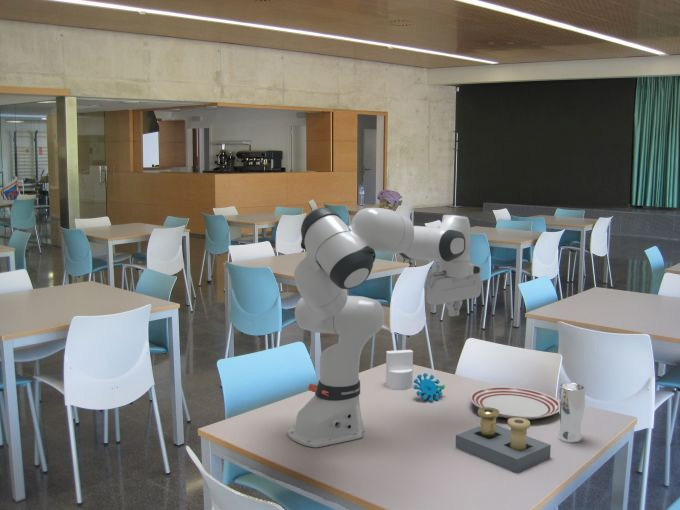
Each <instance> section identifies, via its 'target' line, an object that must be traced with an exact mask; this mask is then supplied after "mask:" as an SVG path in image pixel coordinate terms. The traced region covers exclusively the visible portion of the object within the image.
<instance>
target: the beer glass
mask: <svg viewBox="0 0 680 510" xmlns="http://www.w3.org/2000/svg"><path fill="white" fill-rule="evenodd" d="M585 389H586V387H585V386H584V385H583V384H580V383H576V382H564V383H563V382H562V383H560V384H559V391H558V398H557V400H558V407H559V412H558V413H559V422H560V425H559V426H560V427H559V431H558V432H559V433H558V434H557V435H558V439H559V440H560V441H562V442H566V443H570V444H571V443H572V444H576V443H580V442H581V441H582V433H581V431H582V430H581V424H582V420H583V417H584V412H585V406H586V405H585V404H586V390H585Z"/></svg>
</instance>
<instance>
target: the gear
mask: <svg viewBox="0 0 680 510" xmlns="http://www.w3.org/2000/svg"><path fill="white" fill-rule="evenodd" d="M428 375H429V374H428V373H426V372H425V373H423V375H422V374H418V375H417V376H416V377H417V378H415V379H414V381H413V383H414V385H413V390H416V396H417V397H420V396H422V397H421V399H422V400H423V401H426V400H427V398H428V397H429V398H428V402H429V403H432V402H433V401H439V400H440V397H442V395H443V392H442V391H443V390H444V389H445V388H446V385H445V384H442V385H440V382H441V381H440V379H436V380H434V379H435V376H434V375H433V374H430V376H429V378H428ZM422 377H423V378H422ZM417 390H418V391H417ZM433 396H434V398H433Z"/></svg>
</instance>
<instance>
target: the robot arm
mask: <svg viewBox="0 0 680 510" xmlns="http://www.w3.org/2000/svg"><path fill="white" fill-rule="evenodd" d="M471 234H472V233H471V223H470V220H469V217H467V215H464V214H457V213H456V214H455V213H445V214H443V215H442V219H441V223H440V224H439V225H437V226H436V227H434V226H422V225H417V224H416V225H415V224H414V223H413V222H412V220H411V219H410V218H409V217H408V216H406V215H405V214H403V213H401V212H400V211H395V210H392V209H389V208H383V207H365V208H362V209H360V210H358V211H357V212H356V213H355V214H354V215H353V217H352V220H351V223H350V225H347V224H346V223H345V222H344V221H343V220H342V218H341V216H340V215H339V214H338V213H337V212H336V211H334V210H333V209H332V208H329V207H320V208H317V209H314V210H312V211H311V212H309V213H308V214H306V216H305V217H304V219H303V220H302V224H301V227H300V235H301V242H300V248H301V249H302V250H304V251H305V252H306V256H305V257H304V258H303V259H302V260H301V261H299V263H297V264H296V267H295V268H294V272H293V277H294V282H295V283H294V284H295V286H296V288H297V291H298V293H299V295H300V298H299V300H298V301H297V303H296V305H295V307H294V318H295V321H296V324H297V325H298V326H299V328H300V329H302V330H306V331H309V332H312V333H317V334H331V335H339V341H338V342H337V343H335V344H332V345H330V346H328V347H327V348H324V350H323V351H322V352H321V354H320V357H319V380H318V382H317V385H315V384H313V383H310V384H308V386H307V388H308V389H307V390H308V391H310V392H312V393H314V396H312V398H310V400H308V402H307V403H305V405H304V406H303V407H302V408H301V409H300V410H299V411H298V412H297V414H296V418H295V426H293V427H290V428H289V429H287V431H286V433H287V436H288V437H289V439H291V440H292V441H294V442H296V443H298V444H300V445H303V446H306V447H309V448H310V447H311V448H320V447H326V446H331V445H335V444H339V443H344V442H348V441H352V440H353V441H354V440H358V439H361V438H363V437H364V436H363V433H364V431H365V425H364V422H363V418H362V411H361V405H360V403H361V402H360V394H361V380H360V379H359V378H360V377H359V376H360V375H359V374H360V361H361V355H362V351H363V348H364V346H365V345H366V344H367V342H368V341H369V340H370V339H371V338H372V337H373V336H375V335H377V334H378V333H379V332H380V331H381V329H382V328H383V326H384V323H385V317H386V316H385V310H384V309H385V308H384V307H383V305H382V304H381V302H380V301H379V300H377V299H374V298H370V297H367V296H361V295H360V296H359V295H349V293H348V290H351V289H355V288H357V287H358V286H360V285H362V284H363V283H364V282H366V280H367V279H368V278H369V276H370V275H371V272H372V270H373V267H374V262H375V261H376V257H377V255H376V252H378V253H381V254H387V255H396V254H399V255H400V256H401V257H402V258H403V259H405V260H419V261H431V262H439V267H438V269H439V271H434V272H432V274H431V275H430V276H429V277H428V282H427V289H426V298H425V299H426V302H427V303H428V305H429V304H431V305H433V306H436V305H437V306H439V305H443V304H445V307H446V309H447V310H448V311H447V316H449V317H455V316H459V315H460V309H461V307H462V305H463V300H464V301H465V300H469V299H474V298H478V297H480V295H481V293H482V276H481V273H482V266H480V265H477V264H474V263H471V256H470V248H471V243H472V242H471V238H472V237H471Z"/></svg>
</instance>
